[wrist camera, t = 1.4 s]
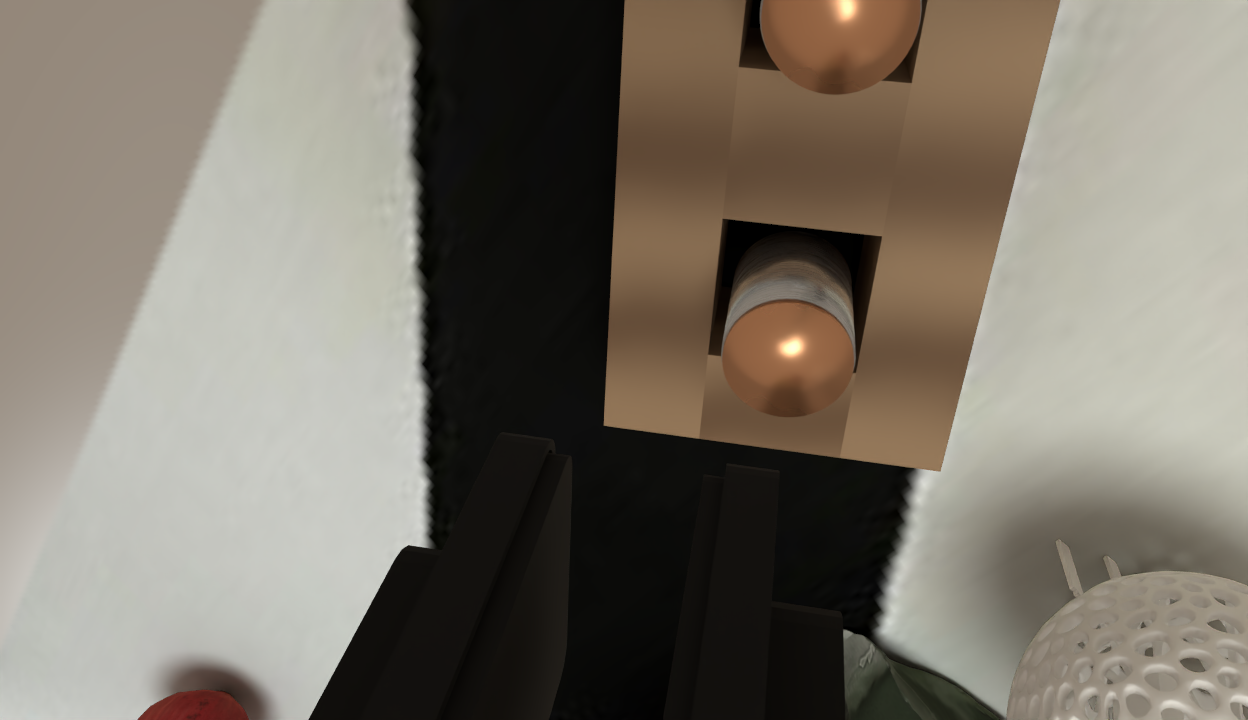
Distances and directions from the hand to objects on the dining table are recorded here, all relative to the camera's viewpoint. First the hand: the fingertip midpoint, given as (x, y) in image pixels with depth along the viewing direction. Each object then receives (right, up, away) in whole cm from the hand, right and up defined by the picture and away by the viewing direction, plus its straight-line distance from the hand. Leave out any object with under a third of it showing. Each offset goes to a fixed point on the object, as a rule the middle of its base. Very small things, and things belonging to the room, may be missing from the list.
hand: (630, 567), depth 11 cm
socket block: (+6, +10, +22) cm, 25 cm away
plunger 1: (+6, +12, +17) cm, 21 cm away
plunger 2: (+5, +4, +21) cm, 22 cm away
